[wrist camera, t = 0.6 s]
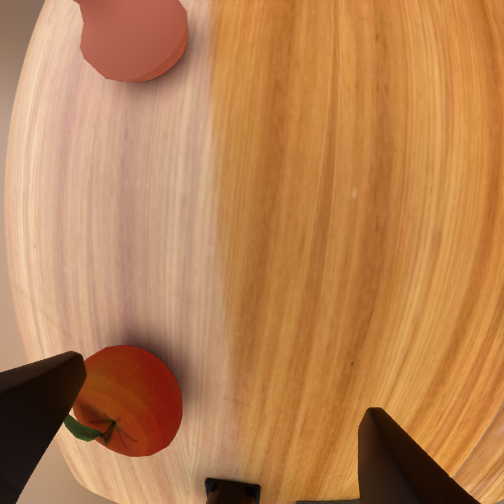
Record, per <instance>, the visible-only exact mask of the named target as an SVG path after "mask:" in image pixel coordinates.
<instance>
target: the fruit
mask: <svg viewBox="0 0 504 504" xmlns="http://www.w3.org/2000/svg"><path fill="white" fill-rule="evenodd" d="M84 363H85V367H86V371H87V378H86V381H85V383H84V385H83V387H82V388H81V390H80V392H79V394H78V396H77V398H76V400H75V402H74V404H73V406H72V407H73V411H74V415H75V417H76V418H77V420H78V421H77V420H76V419H74V418H73V417H72V416H70V415H69V414H68V415H67V417H66V419H65V420H64V424H65V426H66V427H67V429H68V430H69V431H70V432H71V433H72V434H73V435H74V436H75V437H76V438H78V439H81V440H84V441H87V442H88V441H91V440H94V439H95V440H96V441H97V442H99V443H100V444H102V445H103V446H105V447H107V448H108V449H110V450H112V451H115V452H117V453H119V454H123V455H126V456H130V457H141V456H151V455H153V454H155V453H157V452H159V451H160V450H162V449H164V448H166V447H167V446H169V445H170V443H171V442H172V440H173V439H174V437H175V436H176V433H177V431H178V429H179V427H180V424H181V419H182V415H183V412H182V395H181V390H180V388H179V385H178V382H177V380H176V378H175V377H174V375H173V374H172V373H171V371H170V370H169V368H168V367H167V366H166V364H164V363H163V362H162V361H161V360H160V359H159V358H158V357H156V356H155V355H153V354H151V353H149V352H147V351H146V350H143V349H141V348H137V347H133V346H130V345H120V346H111V347H106V348H104V349H102V350H101V351H99V352H97V353H95V354H94V355H92V356H90V357H89V358H87V359H86V360H85V361H84Z"/></svg>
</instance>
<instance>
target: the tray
mask: <svg viewBox="0 0 504 504" xmlns="http://www.w3.org/2000/svg"><path fill="white" fill-rule="evenodd" d="M296 504H361V503H360V499H358V500H345V501H322V502H299V501H297V502H296Z"/></svg>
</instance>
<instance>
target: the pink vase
mask: <svg viewBox="0 0 504 504" xmlns="http://www.w3.org/2000/svg"><path fill="white" fill-rule="evenodd" d="M74 1H75V2H77V3H78V4H79V5H80V9H81V13H82V18H83V22H84V25H83V31H82V37H81V47H80V48H81V51H82V54H83V57H84V59H86V60H87V61H88V62H89V63H90V64H91V65H92V66H93V67H94V68H95V69H96V70H97V71H98V72H99V73H100V74H101V75H103V76H104V77H105V78H106V79H111V80H116V81H125V82H140V81H147V80H151V79H153V78H155V77H157V76H160V75H162V74H164V73H165V72H166V71H167V70H169V69H170V68H171V67H172V66H173V65H175V64H176V62H177V61H178V60H179V58H180V57H181V56H182V54H183V53H184V51H185V48H186V45H187V42H188V27H187V13H186V10H185V9H184V7H183V6H182V4H181V3H180V1H178V0H74Z"/></svg>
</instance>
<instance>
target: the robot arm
mask: <svg viewBox="0 0 504 504" xmlns="http://www.w3.org/2000/svg"><path fill="white" fill-rule="evenodd" d="M86 378H87V371H86V367H85V363H84V359H83V356H82V355H81V354H80V353H77V352H74V351H69V352H65V353H62V354H59V355H56V356H53V357H50V358H47V359H43V360H40V361H37V362H34V363H30V364H27V365H24V366H21V367H17V368H14V369H11V370H7V371H4V372H0V504H16V502H17V500H18V498H19V495H20V494H21V493H22V490H23V489H24V487H25V485H26V483H27V481H28V480H29V478H30V476H31V475H32V473H33V471H34V470H35V468H36V466H37V464H38V463H39V461H40V459H41V458H42V456H43V454H44V453H45V451H46V449H47V448H48V446H49V444H50V443H51V441H52V439H53V438H54V436H55V435H56V433H57V431H58V430H59V428H60V427H61V425H62V423H63V422H64V420H65V419H66V417H67V415H68V414H69V412H70V410H71V408H72V406H73V404H74V402H75V400H76V398H77V396H78V394H79V392H80V390H81V388H82V387H83V385H84V383H85V381H86ZM358 481H359V491H360V503H361V504H481V503H479V502H478V501H477V500H476V499H474V498H473V497H472V496H471V495H469V494H468V493H467V492H466V491H465V490H464V489H463V488H462V487H461V486H459V485H458V484H457V483H456V482H455V481H454V480H453V479H452V478H451V477H449V475H448V474H447V473H446V472H445V471H444V470H443V469H442V468H441V467H440V466H439V465H438V464H437V463H436V462H435V461H434V460H433V459H432V458H431V457H430V456H429V455H428V454H427V453H426V452H425V451H424V450H423V449H422V448H421V447H420V446H419V445H418V444H417V443H416V442H415V441H414V440H413V439H412V438H411V437H410V436H409V435H408V434H407V433H406V432H405V431H404V430H403V429H402V428H401V427H400V426H399V425H398V424H397V423H396V422H395V421H394V420H393V419H392V418H391V417H390V416H389V415H388V414H387V413H386V412H385V411H384V410H383V409H382V408H380V407H370V408H368V409H367V410H366V412H365V414H364V417H363V419H362V421H361V423H360V425H359V429H358ZM205 487H206V494H207V502H206V504H259V499H260V491H261V487H260V486H259V485H251V484H243V483H235V482H228V481H221V480H215V479H209V478H207V479H206V480H205Z"/></svg>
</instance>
